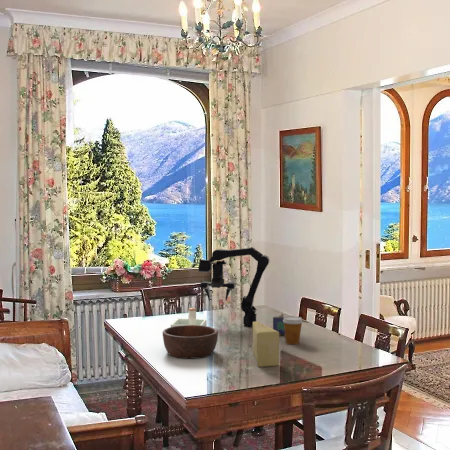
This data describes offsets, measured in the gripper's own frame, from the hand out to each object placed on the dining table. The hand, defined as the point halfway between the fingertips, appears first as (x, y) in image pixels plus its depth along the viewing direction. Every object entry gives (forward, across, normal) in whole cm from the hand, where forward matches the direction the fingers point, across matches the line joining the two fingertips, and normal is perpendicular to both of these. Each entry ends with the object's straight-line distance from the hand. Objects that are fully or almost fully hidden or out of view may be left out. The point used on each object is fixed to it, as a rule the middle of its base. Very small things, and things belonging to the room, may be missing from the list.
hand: (217, 300), depth 343 cm
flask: (+13, +36, -18) cm, 42 cm away
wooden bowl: (+13, -3, -61) cm, 63 cm away
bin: (+13, -13, -15) cm, 24 cm away
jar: (+12, -11, -14) cm, 21 cm away
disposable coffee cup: (+13, +42, -35) cm, 56 cm away
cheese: (+13, +30, -67) cm, 75 cm away
